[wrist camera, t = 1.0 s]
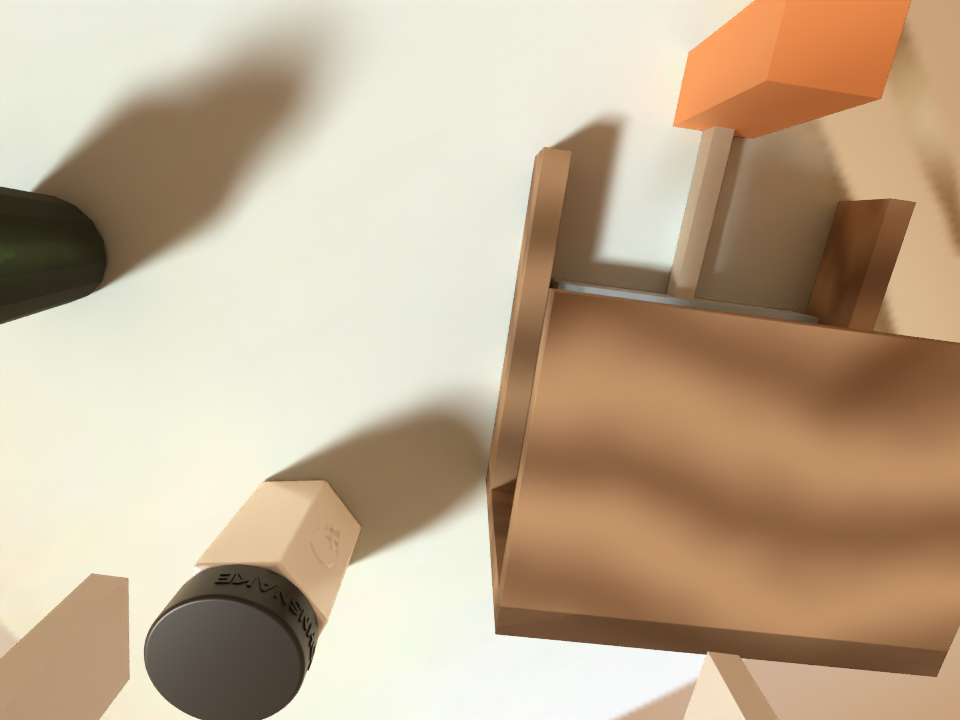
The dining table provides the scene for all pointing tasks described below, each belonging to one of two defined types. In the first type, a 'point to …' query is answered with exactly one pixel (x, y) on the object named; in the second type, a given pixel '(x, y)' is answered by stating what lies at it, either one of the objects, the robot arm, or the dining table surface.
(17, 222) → the potion bottle
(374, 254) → the dining table surface
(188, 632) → the jar
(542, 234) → the shelf lane
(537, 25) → the dining table surface
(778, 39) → the grey and orange frame
